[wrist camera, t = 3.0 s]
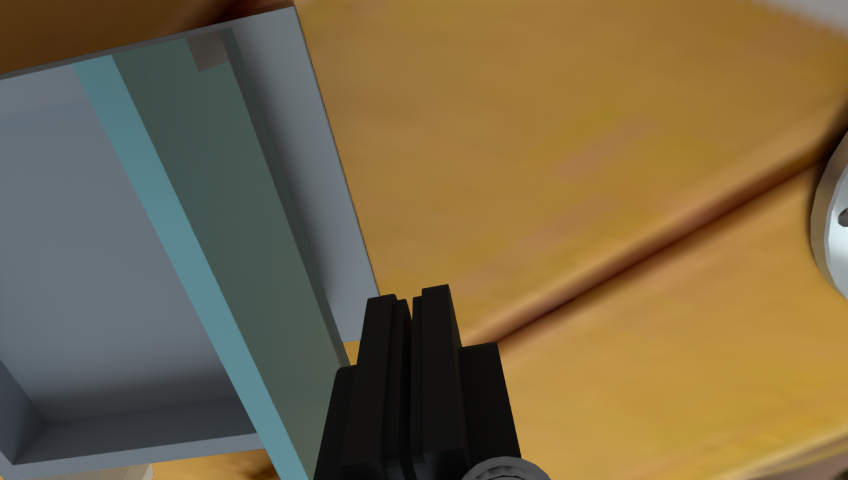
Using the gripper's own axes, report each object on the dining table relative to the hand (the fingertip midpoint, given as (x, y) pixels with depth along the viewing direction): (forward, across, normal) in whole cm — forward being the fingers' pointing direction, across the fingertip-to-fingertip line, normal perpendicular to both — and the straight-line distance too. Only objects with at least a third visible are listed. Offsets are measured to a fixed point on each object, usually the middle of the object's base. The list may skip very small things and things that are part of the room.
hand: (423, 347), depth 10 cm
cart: (+11, +11, 0) cm, 15 cm away
